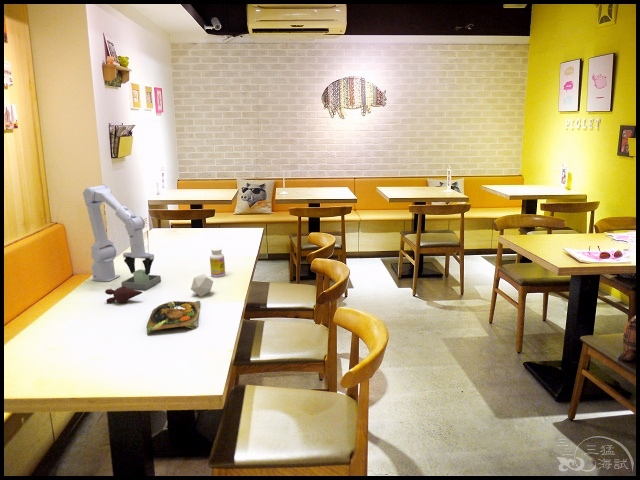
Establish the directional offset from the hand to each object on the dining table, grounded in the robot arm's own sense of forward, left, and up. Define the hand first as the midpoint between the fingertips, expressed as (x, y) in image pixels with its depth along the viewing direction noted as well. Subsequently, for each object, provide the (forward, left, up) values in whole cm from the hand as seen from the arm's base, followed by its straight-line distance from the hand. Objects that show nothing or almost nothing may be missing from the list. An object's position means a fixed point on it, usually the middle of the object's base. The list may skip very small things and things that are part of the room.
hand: (140, 273), depth 221 cm
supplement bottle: (+28, +20, -6) cm, 35 cm away
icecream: (+5, -20, -6) cm, 21 cm away
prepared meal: (+35, -30, -6) cm, 46 cm away
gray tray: (0, 0, -6) cm, 6 cm away
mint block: (0, 0, -5) cm, 5 cm away
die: (+33, -5, -6) cm, 34 cm away
